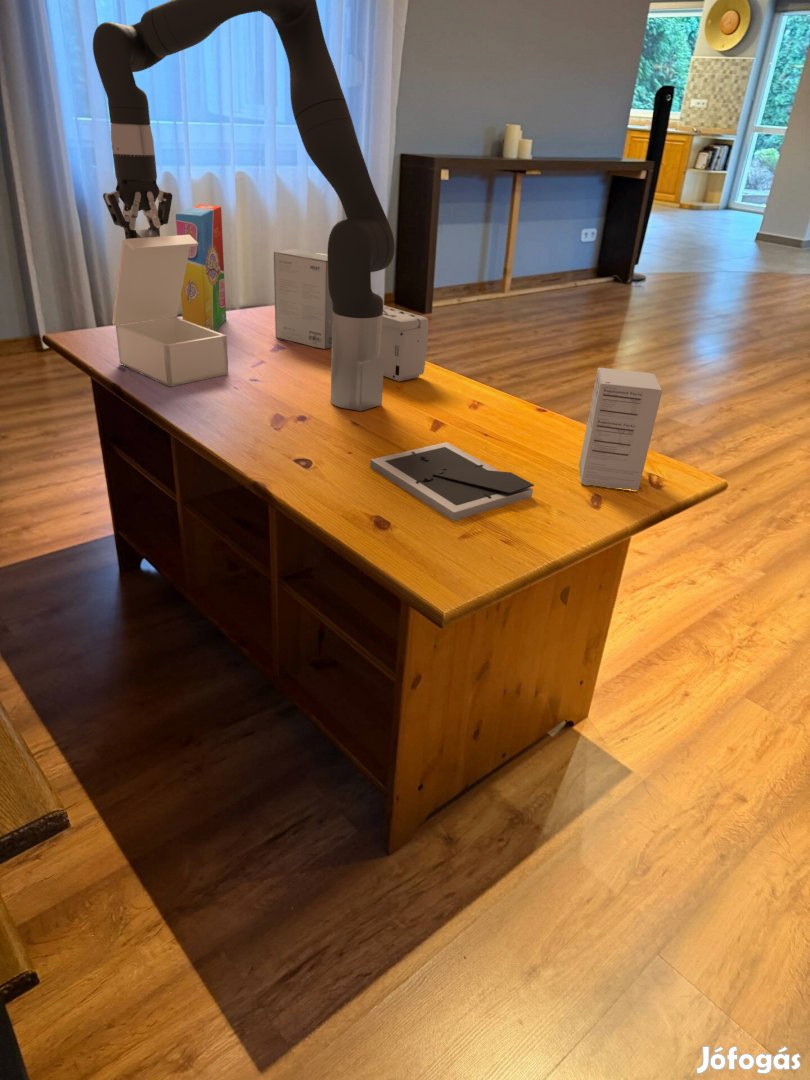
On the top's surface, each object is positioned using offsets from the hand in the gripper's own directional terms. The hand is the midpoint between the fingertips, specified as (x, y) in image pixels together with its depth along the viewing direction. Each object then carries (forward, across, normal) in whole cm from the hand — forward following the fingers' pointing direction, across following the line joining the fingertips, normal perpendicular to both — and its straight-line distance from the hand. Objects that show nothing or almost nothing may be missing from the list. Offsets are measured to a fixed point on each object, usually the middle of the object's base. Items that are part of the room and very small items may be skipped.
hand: (144, 248), depth 151 cm
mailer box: (+23, 0, -6) cm, 24 cm away
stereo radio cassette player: (+24, +35, -31) cm, 53 cm away
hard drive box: (+23, +38, -6) cm, 45 cm away
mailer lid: (+7, 0, -4) cm, 8 cm away
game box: (+23, +24, +16) cm, 37 cm away
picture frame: (+26, +2, -79) cm, 83 cm away
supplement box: (+26, +24, -95) cm, 101 cm away
